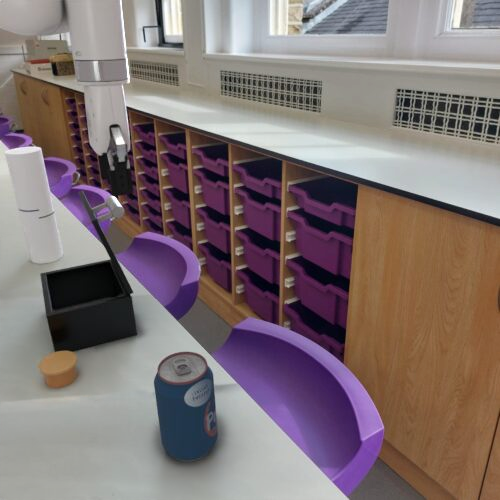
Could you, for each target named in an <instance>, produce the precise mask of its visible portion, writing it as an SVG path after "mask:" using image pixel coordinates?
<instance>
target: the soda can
mask: <svg viewBox="0 0 500 500" xmlns="http://www.w3.org/2000/svg"><path fill="white" fill-rule="evenodd" d="M153 388H154V395H155V403H156V410H157V417H158V424H159V433H160V439H161V440H160V441H161V445H162V447H163V449H164V450H165V451H166V453H167V454H169V455H170V456H171V457H173V459H175V460H178V461H181V462H187V463H188V462H195V461H198V460H201V459H203V458H204V457H206V455H208V454H209V453H210V451H211V450H212V449H213V447H214V446H215V444H216V443H217V439H218V433H219V432H218V421H217V406H216V405H217V404H216V394H215V380H214V372H213V370H212V369H211V367H210V366H209V364H208V361H207V359H206V357H204V356H203V355H201V354H200V353H197V352H194V351H179V352H174V353H171V354H169V355H167V356H166V357H164V358H163V359H162V360H161V361H160V362H159V364H158V365H157V370H156V373H155V376H154V379H153Z"/></svg>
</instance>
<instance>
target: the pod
mask: <svg viewBox="0 0 500 500" xmlns="http://www.w3.org/2000/svg"><path fill="white" fill-rule="evenodd" d="M77 362H78V357H77V354H76V353H75V352H71V351H58V352H55V351H53V352H52V353H49V354H47V355H46V356H44V357H43V358H42V359H41V360H40V361H39V364H38V370H39V372H40V373H41V374H42V375H43V378H44V381H45V385H46V386H47V387H49V388H51V389H61V388H64V387H67V386H68V385H69V386H70V384H72V383H73V382H75V381H76V379H77V378H78V370H77V366H76V364H77Z"/></svg>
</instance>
